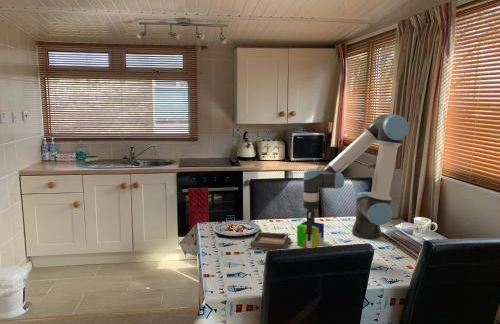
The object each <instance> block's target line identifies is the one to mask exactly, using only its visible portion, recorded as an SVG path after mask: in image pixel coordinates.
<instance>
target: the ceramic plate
mask: <svg viewBox="0 0 500 324" xmlns="http://www.w3.org/2000/svg"><path fill="white" fill-rule="evenodd" d="M231 223H239V224H247V225H250V226H252V227H253V228H254V231H252V232H250V233H246V234H226V233H222V232H221V231H220V230H219V227H221V226H223V225H227V224H229V225H228V226H229V227H227V228H226V230H225V231H233V229H231V228H235V227H236V226H237V225H233V224H231ZM230 227H231V228H230ZM242 228H243V230H244V229H246V227H245V226H244V225H239V226H238V228H237V229H234V230H235V231H236V232H243V230H242ZM247 229H250V228H247ZM260 229H261V226H260V225H258V224H257V223H255V222H251V221H245V220H234V221H233V220H232V221H224V222H221V223H218V224H216V225H215V226H214V227H213V230H214V232H215V233H217V234H220V235H224V236H229V237H240V236H242V235H243V236H248V235H253V234H255V233H258V232H260ZM243 236H242V237H243Z"/></svg>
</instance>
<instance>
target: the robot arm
mask: <svg viewBox="0 0 500 324" xmlns="http://www.w3.org/2000/svg"><path fill="white" fill-rule="evenodd" d="M409 127H410V126H409V123H408V121H407V119H406V118H404V116H402V115H398V114H381V115H379V116H378V117H376V118H375V119H373V121H371V122H370V124H368V125H367V126H366V127H365V128H364V129H363V132H362V133H361V134H360V135H359V136H358V137H357V138H356V139H354V141H352V143H351V142H350V144H349V145H348V146H347V147H345V149H343V150H342V152H340V153H339V154H338V155H337V156H336V157H335V158H334V159H333V160H331V161H330V162H329V163H328V164H327V165H325V167H322V168H320V169H317V168H306V169H305V170H304V172H303V193H302V195H301V196H303V203H302V206H303V209H305V210H307V211H306V212H305V213H306V214H305V215H306V221H307V228H306V232H305V234H306V247H305V248H308V247H312V223H313V222H315V220H316V219H315V217H316V210H317V209H319V205H320V204H319V200H320V190H321V189H342V188H343V187H344V184H345V177H344V174H343V173H342V172H343V171H344V170H345V169H347V167H348V166H350V165H351V164H352V163H353V162H354V161H356V159H358V158H359V157H360V156H361V155H362V154H364V152H366V151H367V150H368V149H369V148H370V147H372V145H373V144H377V143H378V151H377V157H376V163H375V168H374V175H373V180H372V185H371V190H370V192H369V191H361V192H357V193H356V198H355V199H356V200H355V204H356V205H355V207H356V208H355V221H354V224H353V226H352V230H351V232H352V234H351V235H353V236H355V237H356V238H361V239H367V240H369V239H370V240H371V239H378V238H380V237H382V229H381V226H382V225H386V224H387V223H389V222H390V221H391V220H392V217H393V216H394V215H393V214H394V213H393V212H394V211H393V209H392V207H391V205H392V197H391V196H390V191H391V187H392V182H393V176H394V171H395V165H396V161H397V160H396V159H397V153H398V148H399V147H400V146H402V144H403V140H404V138H405V137H406V136H407V135H408V133H409V131H410V129H409ZM315 223H316V222H315ZM308 231H310V232H308Z"/></svg>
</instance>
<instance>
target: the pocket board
mask: <svg viewBox="0 0 500 324" xmlns="http://www.w3.org/2000/svg"><path fill="white" fill-rule="evenodd" d="M289 242H291V236H289V234H288V233H279V232H263V231H257V232H256V234H255V236H254V237H253V238H252V239H251V240H250V243H249V244H248V246H247V247H251V248H259V249H258V250H261V249H266V250H265V251H273V250H277V249H287V247H288V245H289Z"/></svg>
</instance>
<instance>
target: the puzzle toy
mask: <svg viewBox="0 0 500 324" xmlns="http://www.w3.org/2000/svg"><path fill="white" fill-rule="evenodd" d="M306 228H307V220H305V221H303V222H302V223H300V224H299V225H297V229H296V230H297V231H296V232H297V235H296V236H297V237H296V244H297V245H296V246H299V247H305V248H307V247H306V234H305V232H306ZM324 229H325V224H324V223H322V222H321V223H320V222H313V223H312V247H317V246H319V247H320V246H322V245H324V237H325V236H324V235H325V230H324ZM308 232H310V231H308Z"/></svg>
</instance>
